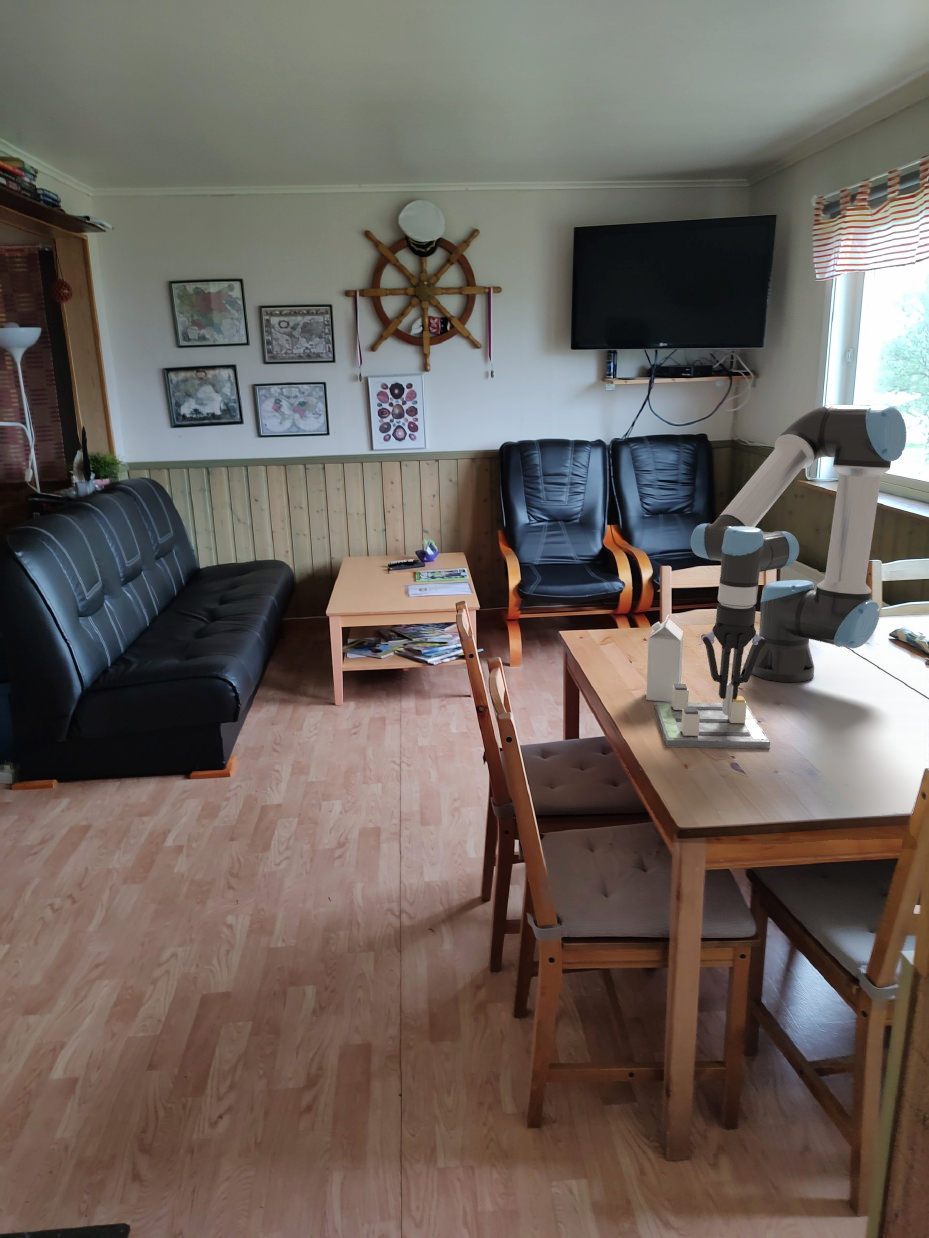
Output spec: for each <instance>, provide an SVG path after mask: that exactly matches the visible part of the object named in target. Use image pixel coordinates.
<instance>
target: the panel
mask: <svg viewBox="0 0 929 1238" xmlns="http://www.w3.org/2000/svg"><path fill="white" fill-rule="evenodd" d="M722 705H723V702H688V707H689V708H697V710H698V712H699V714H700V720H699V736H683V733H682V730H681V724H682V710H674V709H673V707H672V702H663V701H654V712H655V715H656V717H657V721H658V725H659V727H660V730H661V734H662V736H663V739H664V743H665V746H666V748H694V749H695V748H699V749H700V748H703V749H705V748H706V749H710V748H711V749H748V750H749V749H752V750H753V749H756V750H759V749H761V750H765V749H766V750H770V748H771V747H770V745H771V741H770V740H769V738H768V736H767V735H766V733H765V731H764V729H763V727H762V726H761V725H760V723H759V721H758V720H757V718H756V717H755V715H754V714H753V712H752V710H751V709H750V706H748V704H747V705H746V719H745V723H730V721H729V719H728V715H724V713H723V711H722Z"/></svg>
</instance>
